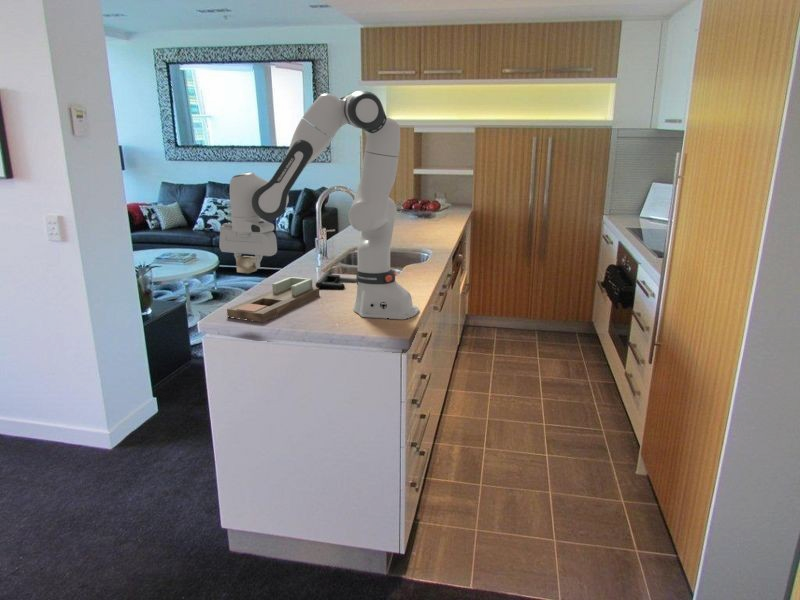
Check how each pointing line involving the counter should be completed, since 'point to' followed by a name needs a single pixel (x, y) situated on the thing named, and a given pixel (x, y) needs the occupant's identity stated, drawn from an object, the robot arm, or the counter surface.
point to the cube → (245, 264)
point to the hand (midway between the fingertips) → (249, 267)
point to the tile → (251, 307)
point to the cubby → (293, 285)
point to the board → (272, 304)
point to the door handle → (333, 278)
